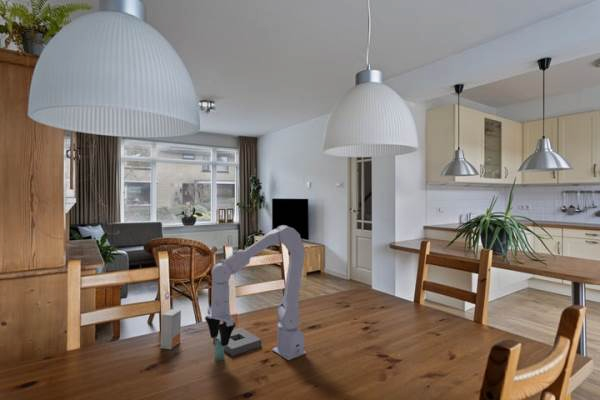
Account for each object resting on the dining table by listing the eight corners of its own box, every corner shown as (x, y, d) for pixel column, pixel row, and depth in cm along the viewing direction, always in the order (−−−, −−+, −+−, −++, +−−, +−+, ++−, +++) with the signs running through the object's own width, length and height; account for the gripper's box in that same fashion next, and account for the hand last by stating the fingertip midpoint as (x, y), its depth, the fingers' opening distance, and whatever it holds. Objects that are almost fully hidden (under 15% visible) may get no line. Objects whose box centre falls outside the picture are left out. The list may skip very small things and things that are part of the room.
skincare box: (171, 349, 114) (171, 315, 114) (160, 348, 115) (160, 314, 115) (180, 342, 120) (181, 309, 120) (170, 341, 121) (171, 309, 121)
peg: (225, 359, 108) (225, 341, 108) (217, 362, 106) (217, 343, 106) (221, 355, 110) (221, 338, 110) (213, 358, 108) (213, 340, 108)
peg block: (261, 346, 118) (261, 339, 118) (231, 356, 110) (231, 349, 110) (241, 333, 128) (241, 327, 128) (213, 342, 120) (213, 335, 120)
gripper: (199, 297, 111) (198, 336, 111) (219, 308, 100) (218, 352, 100) (218, 293, 115) (217, 331, 115) (239, 304, 104) (238, 346, 104)
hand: (219, 340), depth 108 cm, fingers open, 7 cm apart
